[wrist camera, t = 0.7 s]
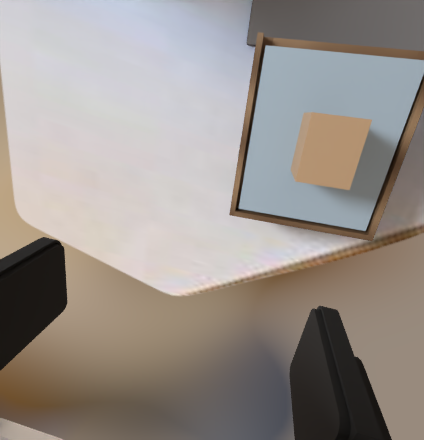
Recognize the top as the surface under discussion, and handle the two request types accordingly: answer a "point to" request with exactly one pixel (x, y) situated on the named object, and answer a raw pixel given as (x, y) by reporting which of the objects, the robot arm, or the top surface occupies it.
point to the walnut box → (420, 102)
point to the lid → (326, 133)
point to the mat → (341, 22)
